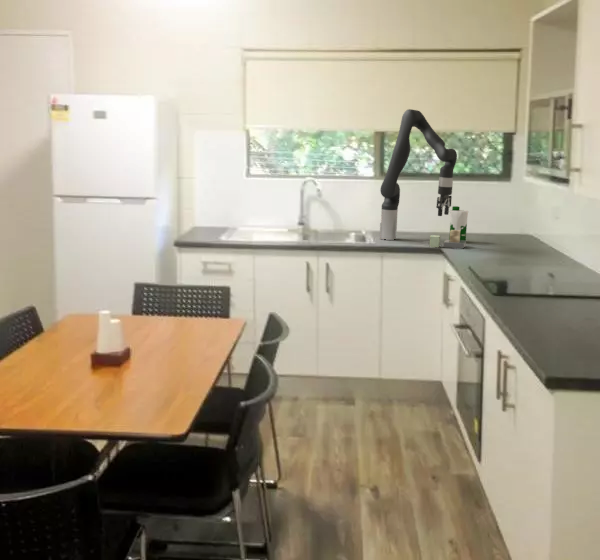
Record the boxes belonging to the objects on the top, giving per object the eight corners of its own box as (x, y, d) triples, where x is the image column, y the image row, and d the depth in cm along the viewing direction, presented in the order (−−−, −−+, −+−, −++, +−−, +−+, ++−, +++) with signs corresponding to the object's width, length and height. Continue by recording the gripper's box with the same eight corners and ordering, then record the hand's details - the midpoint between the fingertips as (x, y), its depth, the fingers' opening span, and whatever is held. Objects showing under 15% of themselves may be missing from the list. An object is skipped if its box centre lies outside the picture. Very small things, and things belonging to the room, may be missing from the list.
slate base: (443, 247, 460) (443, 242, 460) (445, 244, 471) (446, 239, 470) (463, 248, 457) (464, 243, 457) (465, 246, 468) (465, 240, 467)
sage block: (429, 247, 461) (429, 236, 460) (430, 245, 466) (431, 235, 465) (438, 247, 460) (439, 236, 459) (439, 246, 465) (440, 235, 464)
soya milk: (453, 240, 489) (455, 205, 485) (468, 241, 484) (470, 207, 480) (446, 241, 482) (448, 206, 478) (461, 243, 477) (463, 208, 473)
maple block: (449, 241, 462) (450, 230, 461) (450, 240, 466) (451, 229, 465) (458, 242, 460) (459, 231, 459) (459, 241, 465) (460, 230, 464)
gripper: (446, 187, 450) (444, 217, 454) (457, 185, 462) (454, 214, 466) (433, 185, 454) (431, 215, 458) (444, 184, 466) (442, 213, 469)
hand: (443, 215), depth 462 cm, fingers open, 8 cm apart
